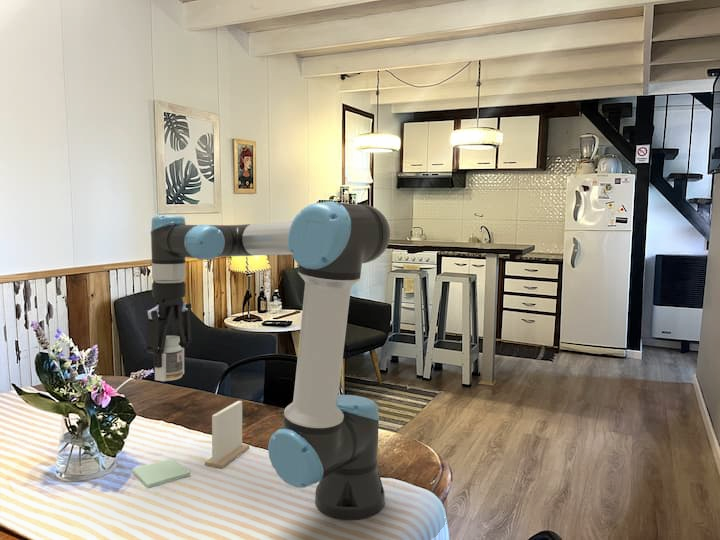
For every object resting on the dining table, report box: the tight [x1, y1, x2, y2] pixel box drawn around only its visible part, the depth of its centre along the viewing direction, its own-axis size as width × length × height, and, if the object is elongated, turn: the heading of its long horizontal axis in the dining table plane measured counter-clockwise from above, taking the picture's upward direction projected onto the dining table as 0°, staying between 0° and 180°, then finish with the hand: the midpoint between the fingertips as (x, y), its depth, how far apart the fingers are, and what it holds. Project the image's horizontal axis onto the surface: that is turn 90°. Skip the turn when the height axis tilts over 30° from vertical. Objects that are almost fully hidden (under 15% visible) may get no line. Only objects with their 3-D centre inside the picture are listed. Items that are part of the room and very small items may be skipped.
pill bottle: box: [158, 335, 184, 382], centre depth 133 cm, size 6×6×10 cm
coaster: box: [131, 457, 191, 489], centre depth 133 cm, size 10×10×1 cm
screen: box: [203, 400, 250, 469], centre depth 142 cm, size 13×5×13 cm, turn 161°
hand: (169, 376), depth 134 cm, fingers closed on pill bottle, 6 cm apart
